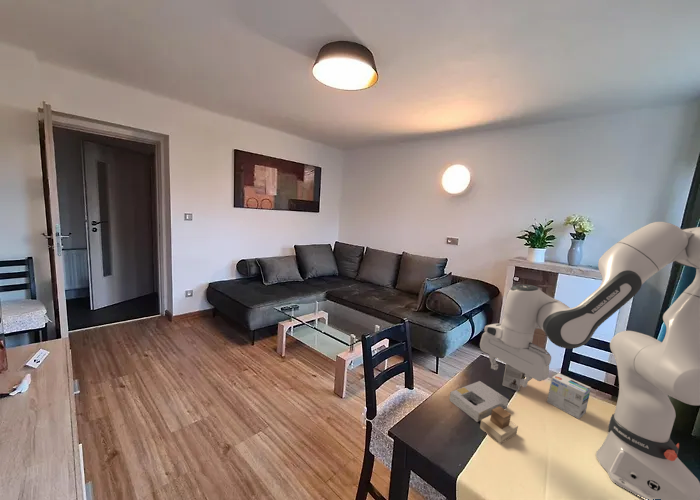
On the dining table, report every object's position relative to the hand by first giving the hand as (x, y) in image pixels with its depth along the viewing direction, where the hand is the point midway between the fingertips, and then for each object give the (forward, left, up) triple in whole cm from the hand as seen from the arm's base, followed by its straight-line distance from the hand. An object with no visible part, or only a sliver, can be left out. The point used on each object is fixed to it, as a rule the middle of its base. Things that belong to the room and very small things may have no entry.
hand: (507, 377), depth 91 cm
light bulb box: (-4, -36, -20) cm, 41 cm away
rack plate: (+11, -6, -19) cm, 23 cm away
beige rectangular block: (0, 0, -19) cm, 19 cm away
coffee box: (+14, -31, -20) cm, 39 cm away
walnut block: (0, 0, -16) cm, 16 cm away
